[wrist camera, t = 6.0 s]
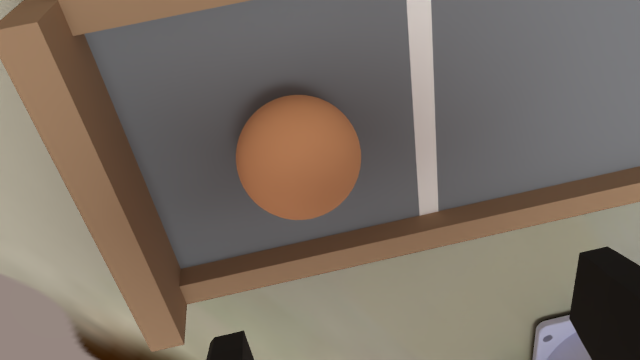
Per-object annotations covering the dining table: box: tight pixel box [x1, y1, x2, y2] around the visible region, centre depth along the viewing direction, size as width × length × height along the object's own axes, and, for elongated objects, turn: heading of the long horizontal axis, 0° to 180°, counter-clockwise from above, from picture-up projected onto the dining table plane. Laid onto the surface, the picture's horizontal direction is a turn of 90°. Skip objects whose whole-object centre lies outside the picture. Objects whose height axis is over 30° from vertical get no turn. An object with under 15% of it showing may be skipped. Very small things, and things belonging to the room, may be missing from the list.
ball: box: [236, 95, 361, 220], centre depth 17 cm, size 4×4×4 cm
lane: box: [0, 0, 640, 352], centre depth 18 cm, size 28×12×4 cm, turn 99°
